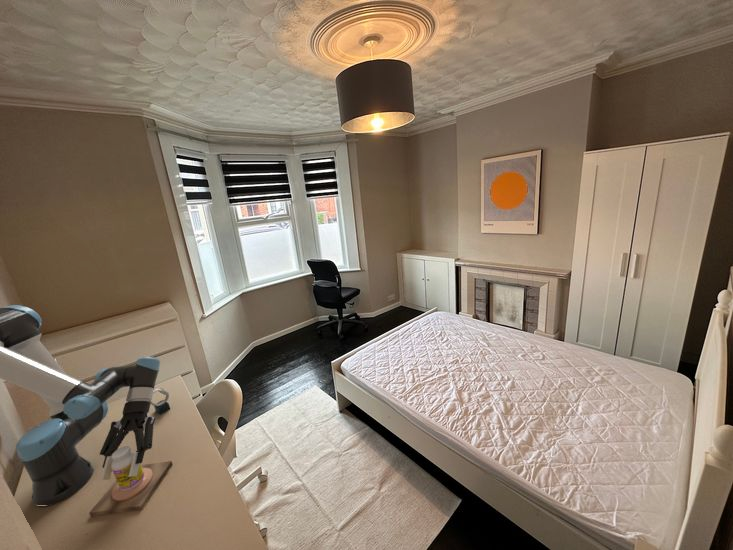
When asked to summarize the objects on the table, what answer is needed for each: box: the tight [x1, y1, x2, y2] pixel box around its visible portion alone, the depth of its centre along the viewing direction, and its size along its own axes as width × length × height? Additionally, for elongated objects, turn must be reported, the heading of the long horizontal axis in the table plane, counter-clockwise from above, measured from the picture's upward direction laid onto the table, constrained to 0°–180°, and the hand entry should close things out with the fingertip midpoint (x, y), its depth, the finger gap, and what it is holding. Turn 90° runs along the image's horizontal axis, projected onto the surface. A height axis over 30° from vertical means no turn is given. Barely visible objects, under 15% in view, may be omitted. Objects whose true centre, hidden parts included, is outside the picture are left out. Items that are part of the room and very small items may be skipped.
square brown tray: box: [88, 460, 173, 517], centre depth 99 cm, size 16×16×2 cm
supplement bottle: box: [111, 445, 144, 491], centre depth 96 cm, size 7×7×13 cm
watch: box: [149, 387, 171, 415], centre depth 137 cm, size 6×8×11 cm
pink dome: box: [112, 468, 153, 501], centre depth 98 cm, size 11×11×1 cm
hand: (118, 478), depth 93 cm, fingers open, 8 cm apart
